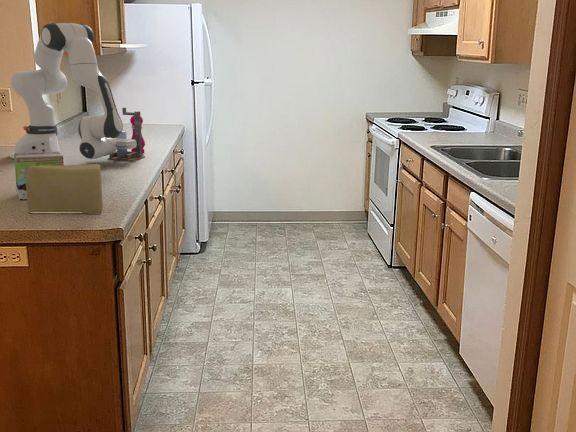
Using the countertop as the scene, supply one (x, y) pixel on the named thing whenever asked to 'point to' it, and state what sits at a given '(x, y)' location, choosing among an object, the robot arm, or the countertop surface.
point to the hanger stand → (138, 154)
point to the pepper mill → (134, 134)
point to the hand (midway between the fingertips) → (122, 140)
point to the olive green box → (64, 188)
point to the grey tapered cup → (122, 152)
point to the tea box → (29, 160)
